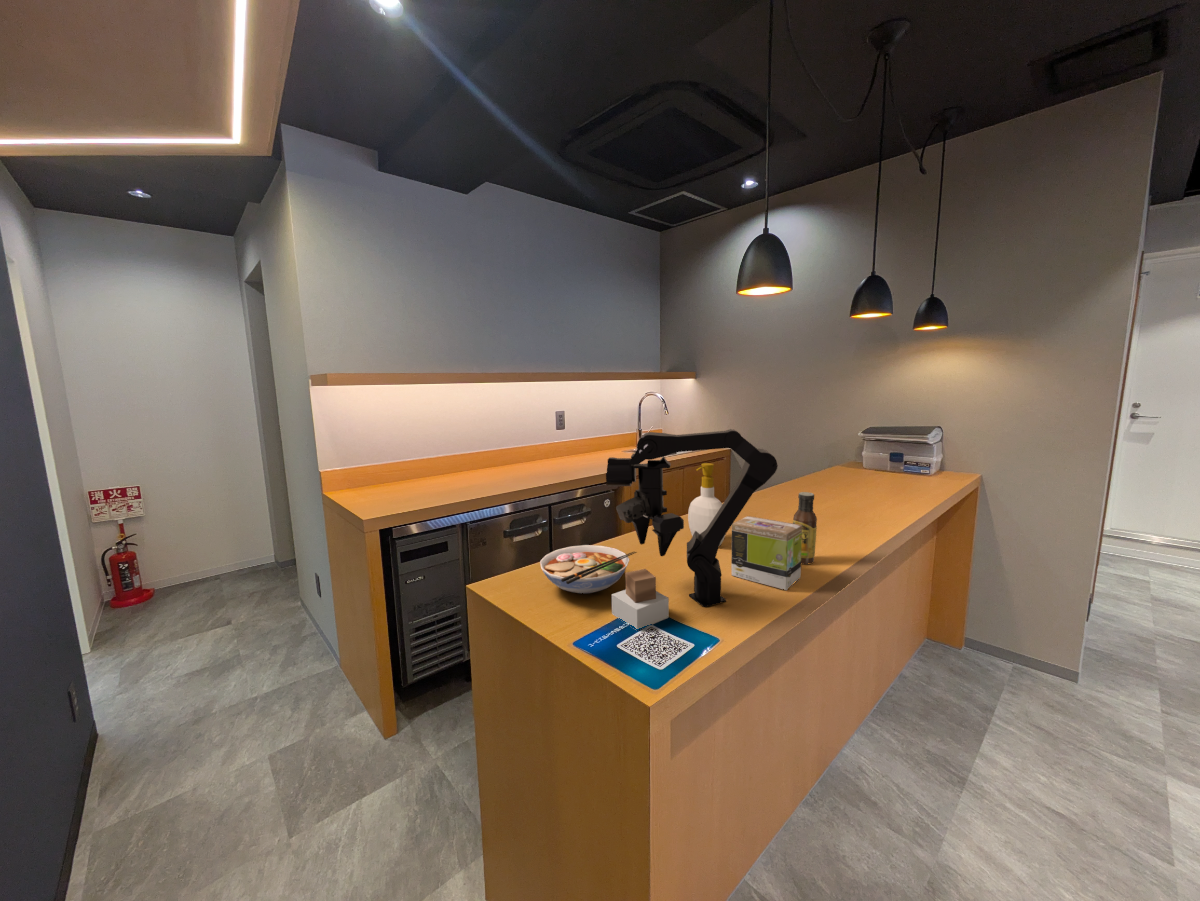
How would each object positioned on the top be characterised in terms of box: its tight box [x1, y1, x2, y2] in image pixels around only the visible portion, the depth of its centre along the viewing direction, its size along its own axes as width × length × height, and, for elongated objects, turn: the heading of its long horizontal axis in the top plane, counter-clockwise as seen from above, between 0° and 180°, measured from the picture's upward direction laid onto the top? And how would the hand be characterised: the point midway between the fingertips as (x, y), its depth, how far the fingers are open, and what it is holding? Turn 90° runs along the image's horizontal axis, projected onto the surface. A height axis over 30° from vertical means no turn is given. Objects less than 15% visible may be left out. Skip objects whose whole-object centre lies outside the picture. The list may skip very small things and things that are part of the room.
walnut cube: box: [624, 568, 657, 603], centre depth 104 cm, size 5×5×5 cm
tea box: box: [730, 515, 802, 591], centre depth 122 cm, size 15×10×15 cm, turn 47°
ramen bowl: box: [539, 544, 637, 595], centre depth 120 cm, size 25×23×8 cm
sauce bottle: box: [792, 491, 818, 565], centre depth 132 cm, size 6×6×20 cm
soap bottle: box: [687, 462, 727, 547], centre depth 148 cm, size 14×9×26 cm, turn 36°
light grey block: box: [611, 589, 670, 630], centre depth 105 cm, size 9×9×5 cm
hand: (651, 549), depth 112 cm, fingers open, 9 cm apart
